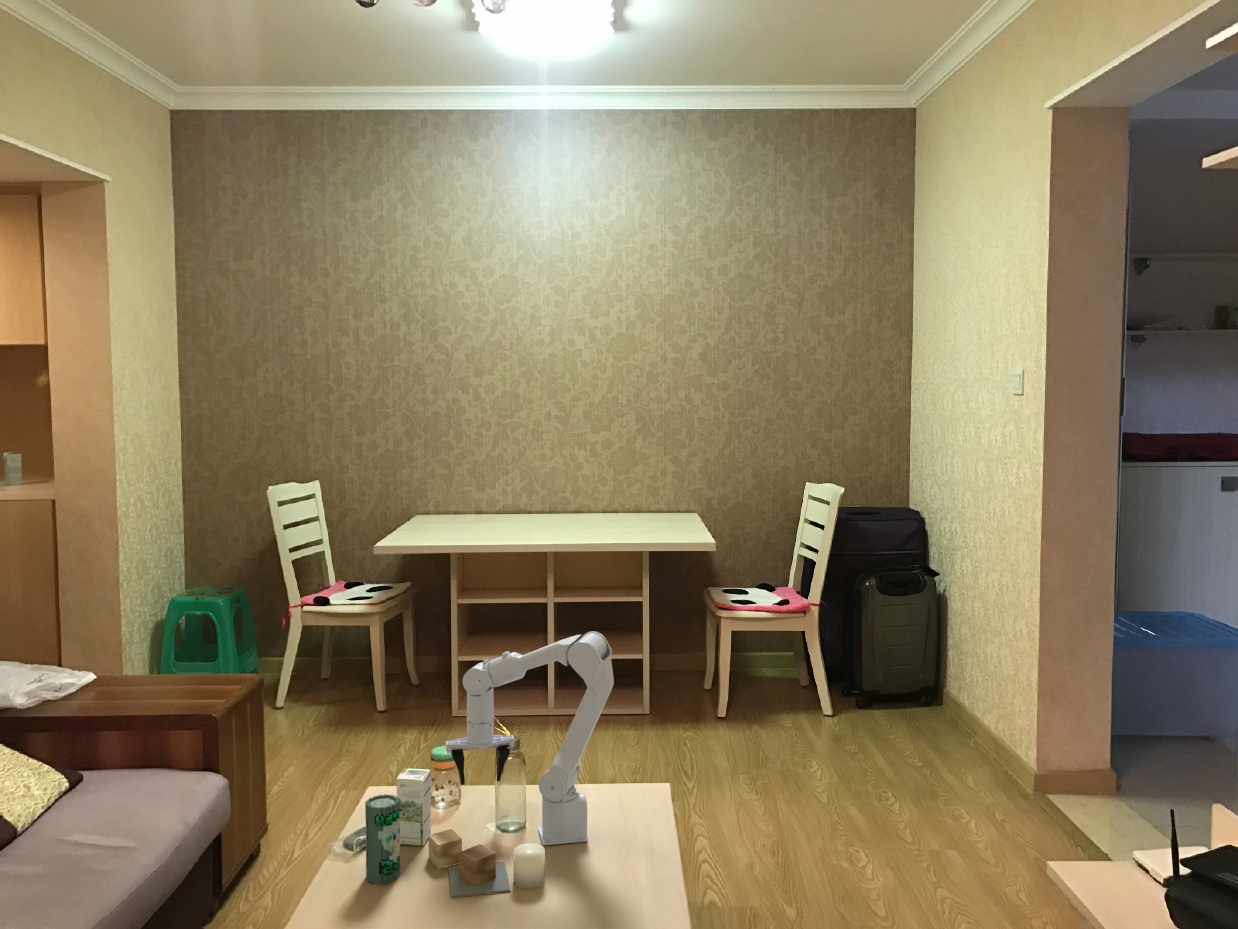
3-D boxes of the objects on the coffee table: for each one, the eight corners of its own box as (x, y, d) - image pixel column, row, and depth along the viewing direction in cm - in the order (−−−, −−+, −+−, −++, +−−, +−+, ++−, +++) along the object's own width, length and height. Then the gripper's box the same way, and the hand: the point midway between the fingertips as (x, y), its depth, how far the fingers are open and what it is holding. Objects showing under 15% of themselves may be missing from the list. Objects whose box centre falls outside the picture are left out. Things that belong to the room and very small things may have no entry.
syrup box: (431, 834, 202) (431, 768, 201) (423, 847, 197) (423, 779, 195) (405, 833, 203) (405, 766, 202) (396, 846, 197) (395, 777, 196)
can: (390, 886, 181) (390, 809, 180) (361, 882, 183) (360, 806, 181) (404, 870, 187) (403, 796, 186) (375, 867, 188) (374, 793, 187)
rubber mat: (504, 863, 190) (504, 861, 190) (510, 892, 180) (510, 889, 180) (448, 868, 188) (448, 866, 188) (451, 898, 177) (450, 895, 177)
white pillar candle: (542, 871, 188) (542, 842, 187) (546, 887, 182) (546, 856, 181) (511, 874, 186) (511, 845, 186) (515, 890, 180) (515, 859, 180)
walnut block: (479, 868, 188) (479, 844, 187) (495, 877, 184) (495, 852, 184) (459, 877, 184) (459, 852, 184) (474, 887, 181) (474, 861, 180)
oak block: (451, 852, 195) (451, 829, 194) (461, 863, 191) (461, 838, 190) (428, 859, 192) (428, 835, 192) (438, 869, 188) (438, 845, 188)
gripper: (448, 729, 199) (448, 792, 200) (517, 723, 203) (516, 785, 204) (444, 717, 206) (444, 779, 207) (511, 712, 210) (511, 772, 211)
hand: (480, 781), depth 206 cm, fingers open, 7 cm apart
